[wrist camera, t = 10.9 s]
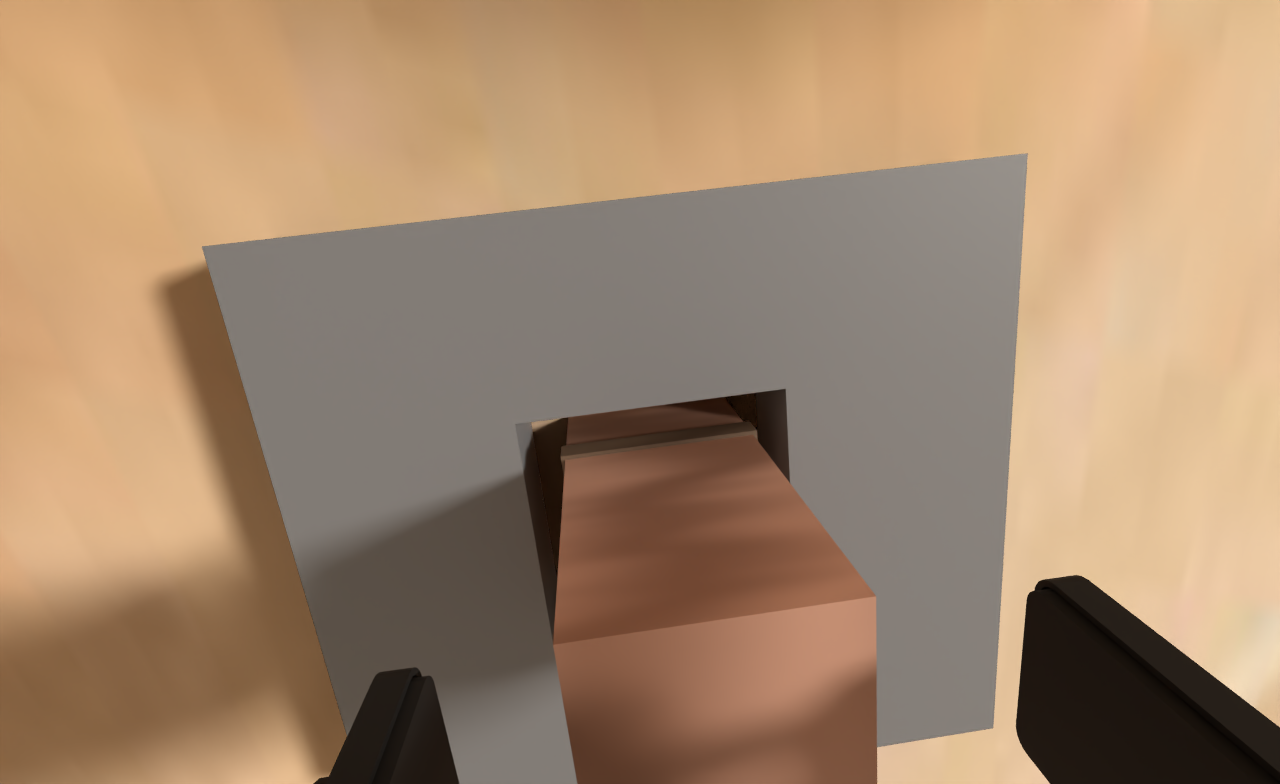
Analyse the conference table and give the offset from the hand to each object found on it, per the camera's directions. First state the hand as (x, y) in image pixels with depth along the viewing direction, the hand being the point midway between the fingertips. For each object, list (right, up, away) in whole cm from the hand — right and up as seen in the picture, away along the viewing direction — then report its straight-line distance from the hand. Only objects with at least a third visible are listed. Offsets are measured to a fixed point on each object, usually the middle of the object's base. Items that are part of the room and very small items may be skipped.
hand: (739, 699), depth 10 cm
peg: (-1, +2, +9) cm, 9 cm away
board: (-1, +2, +9) cm, 9 cm away
